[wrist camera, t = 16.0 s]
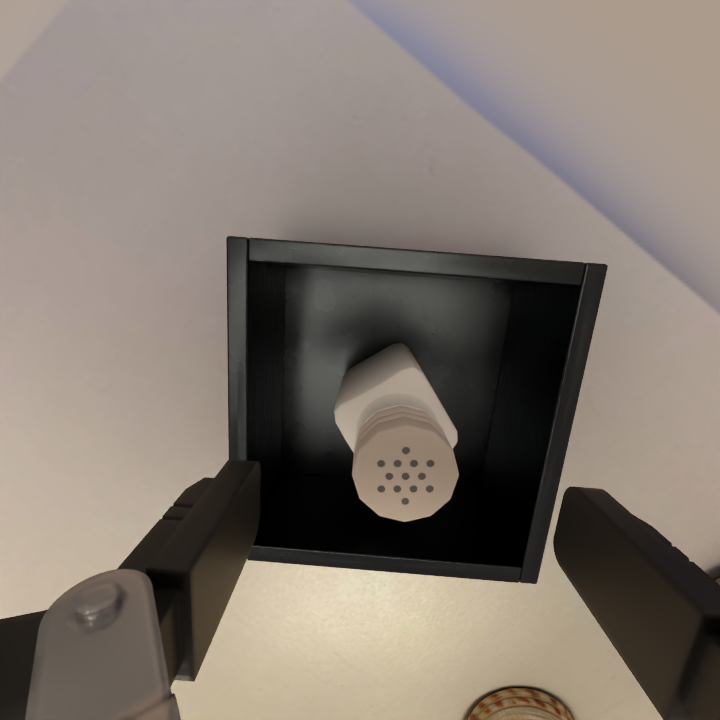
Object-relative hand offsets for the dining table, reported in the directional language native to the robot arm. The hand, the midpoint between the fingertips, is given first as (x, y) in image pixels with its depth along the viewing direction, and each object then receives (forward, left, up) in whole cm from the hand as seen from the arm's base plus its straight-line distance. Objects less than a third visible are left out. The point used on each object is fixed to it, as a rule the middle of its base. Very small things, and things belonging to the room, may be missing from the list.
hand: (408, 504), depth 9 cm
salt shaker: (0, 0, -11) cm, 11 cm away
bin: (0, 0, -11) cm, 11 cm away
